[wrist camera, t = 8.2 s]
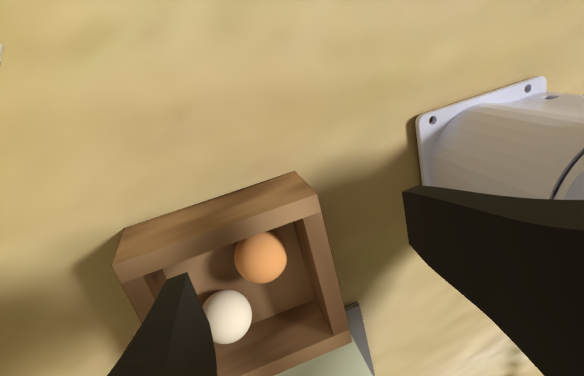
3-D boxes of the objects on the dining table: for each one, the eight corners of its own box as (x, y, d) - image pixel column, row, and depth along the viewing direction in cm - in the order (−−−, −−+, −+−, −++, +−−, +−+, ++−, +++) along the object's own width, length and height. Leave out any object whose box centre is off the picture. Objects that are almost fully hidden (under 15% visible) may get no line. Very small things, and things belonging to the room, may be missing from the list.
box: (294, 171, 22) (316, 193, 18) (328, 301, 26) (352, 341, 22) (124, 228, 20) (111, 266, 17) (187, 358, 24) (188, 411, 20)
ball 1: (239, 272, 23) (247, 302, 20) (253, 310, 24) (262, 343, 21) (191, 290, 22) (192, 323, 19) (208, 327, 23) (211, 363, 21)
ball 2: (273, 214, 22) (285, 236, 19) (285, 255, 23) (299, 282, 20) (224, 231, 21) (230, 256, 19) (239, 272, 23) (247, 302, 20)
